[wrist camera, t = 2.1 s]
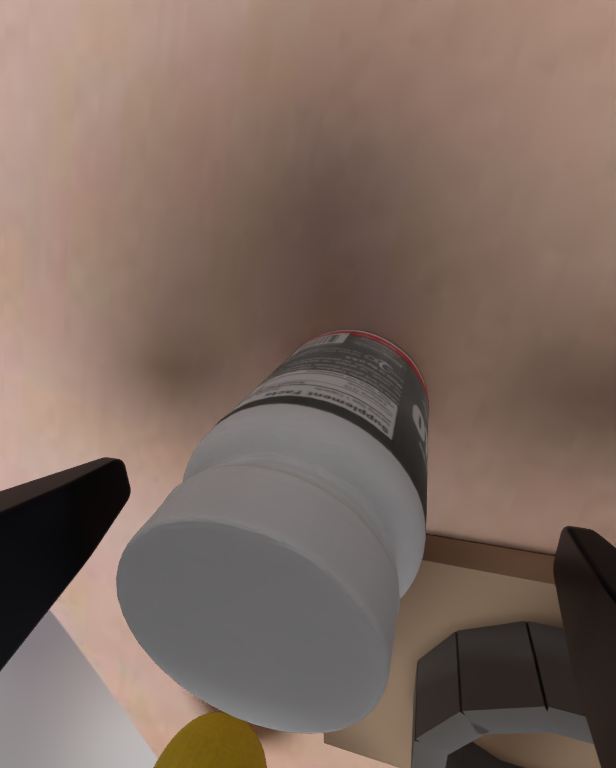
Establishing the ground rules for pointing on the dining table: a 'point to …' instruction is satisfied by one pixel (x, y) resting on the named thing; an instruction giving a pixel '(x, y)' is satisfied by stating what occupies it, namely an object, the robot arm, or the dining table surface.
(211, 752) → the lemon
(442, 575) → the socket board
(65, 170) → the dining table surface
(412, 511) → the pill bottle
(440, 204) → the dining table surface
